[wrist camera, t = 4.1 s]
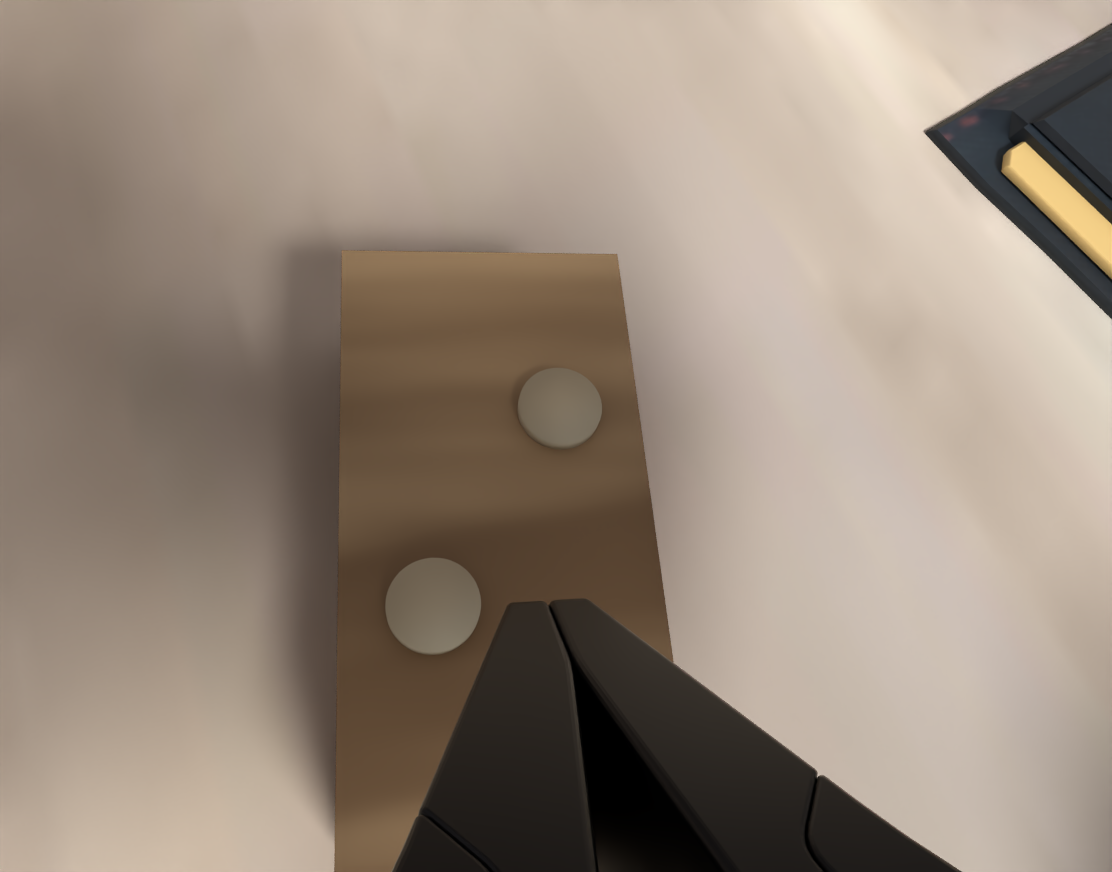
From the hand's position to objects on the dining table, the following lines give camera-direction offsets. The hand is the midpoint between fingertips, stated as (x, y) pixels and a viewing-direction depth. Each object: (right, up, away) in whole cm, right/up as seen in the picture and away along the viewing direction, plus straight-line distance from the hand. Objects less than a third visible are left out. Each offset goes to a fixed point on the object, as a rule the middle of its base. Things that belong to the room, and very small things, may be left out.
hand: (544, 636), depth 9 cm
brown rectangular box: (-1, -4, +4) cm, 6 cm away
